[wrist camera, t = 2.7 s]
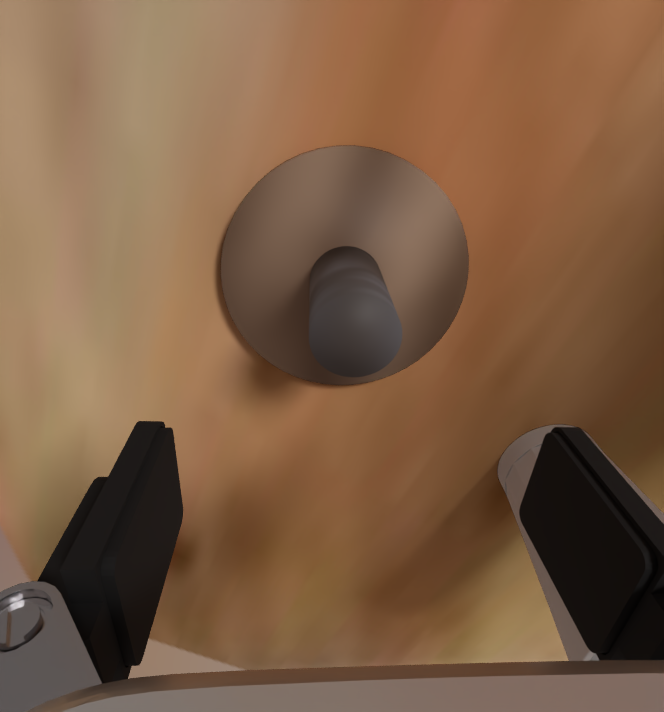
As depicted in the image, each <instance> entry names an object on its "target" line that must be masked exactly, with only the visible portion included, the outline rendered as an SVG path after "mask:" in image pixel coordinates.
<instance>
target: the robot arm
mask: <svg viewBox="0 0 664 712" xmlns="http://www.w3.org/2000/svg"><path fill="white" fill-rule="evenodd" d="M519 516H520V520H521V523H522V525H523V527H524V528H525V530H526V532H527V534H528V536H529V538H530V540H531V542H532V544H533V546H534V547H535V549H536V551H537V553H538V555H539V557H540V559H541V561H542V563H543V565H544V566H545V568H546V570H547V572H548V574H549V576H550V578H551V580H552V582H553V584H554V585H555V587H556V589H557V591H558V593H559V595H560V597H561V599H562V601H563V603H564V604H565V606H566V608H567V610H568V612H569V614H570V616H571V618H572V620H573V622H574V623H575V625H576V627H577V629H578V631H579V633H580V635H581V637H582V639H583V641H584V642H585V644H586V646H587V648H588V649H589V650H590V651H591V652H593V653H596V655H597V657H598V658H599V660H596V661H550V662H505V663H468V664H431V665H396V666H362V667H332V668H302V669H273V670H245V671H227V672H207V673H187V674H170V675H161V676H150V677H140V678H130V679H128V676H129V673H130V669H131V666H136V665H139V664H140V663H141V661H142V658H143V655H144V652H145V648H146V645H147V641H148V638H149V634H150V631H151V627H152V624H153V620H154V617H155V614H156V610H157V607H158V603H159V600H160V596H161V593H162V589H163V586H164V582H165V579H166V575H167V572H168V569H169V565H170V562H171V558H172V555H173V551H174V548H175V544H176V541H177V537H178V534H179V530H180V527H181V523H182V518H183V504H182V497H181V489H180V481H179V474H178V466H177V458H176V451H175V443H174V435H173V430H172V428H165V424H164V422H160V421H139V422H137V423H136V425H135V427H134V429H133V430H132V432H131V434H130V436H129V438H128V440H127V442H126V444H125V446H124V448H123V450H122V452H121V453H120V455H119V457H118V459H117V461H116V463H115V465H114V467H113V469H112V471H111V473H110V475H109V476H108V477H98V478H96V479H95V480H94V481H93V483H92V484H91V486H90V487H89V489H88V491H87V493H86V495H85V496H84V498H83V500H82V502H81V503H80V505H79V507H78V509H77V511H76V512H75V514H74V516H73V518H72V520H71V521H70V523H69V525H68V527H67V529H66V530H65V532H64V534H63V536H62V538H61V539H60V541H59V543H58V545H57V547H56V548H55V550H54V552H53V554H52V556H51V557H50V559H49V561H48V563H47V565H46V566H45V568H44V570H43V572H42V574H41V575H40V577H39V579H38V581H31V582H26V583H21V584H17V585H15V586H13V587H10V588H8V589H6V590H3V591H2V592H0V712H664V524H663V523H662V522H661V520H660V519H659V518H658V517H657V516H656V515H655V514H654V512H653V511H652V510H651V509H650V508H649V507H648V505H647V504H646V503H645V502H644V501H643V500H642V498H641V497H640V496H639V495H638V494H637V493H636V492H635V490H634V489H633V488H632V487H631V486H630V485H629V483H628V482H627V481H626V480H625V479H624V478H623V476H622V475H621V474H620V473H619V472H618V471H617V470H616V468H615V467H614V466H613V465H612V464H611V463H610V461H609V460H608V459H607V458H606V457H605V456H604V454H603V453H602V452H601V451H600V450H599V449H598V448H597V446H596V445H595V444H594V443H593V442H592V441H591V439H590V438H589V437H588V436H587V435H586V434H585V432H584V431H583V430H582V429H580V428H578V427H555V428H553V429H552V430H551V432H550V433H547V434H546V435H545V437H544V439H543V442H542V445H541V448H540V451H539V454H538V457H537V459H536V462H535V465H534V468H533V471H532V474H531V477H530V479H529V482H528V485H527V488H526V491H525V494H524V497H523V499H522V502H521V505H520V509H519Z"/></svg>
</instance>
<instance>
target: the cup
mask: <svg viewBox="0 0 664 712" xmlns="http://www.w3.org/2000/svg"><path fill="white" fill-rule="evenodd" d="M555 427H575V426H571V425H562V424H558V425H548V426H544V427H540V428H537V429H534V430H532V431H529V432H527V433H525V434H524V435H522V436H520V437H519V438H518V439H516V440H515V441H514V442H513V443H512V444H511V445H510V446H509V447H508V448H507V449H506V450H505V452H504V453H503V455H502V456H501V458H500V461H499V464H498V478H499V481H500V483H501V485H502V487H503V489H504V491H505V493H506V495H507V498H508V500H509V503H510V505H511V508H512V511H513V513H514V516H515V519H516V521H517V524H518V526H519V529H520V532H521V534H522V537H523V539H524V542H525V545H526V547H527V550H528V553H529V555H530V558H531V560H532V563H533V566H534V568H535V571H536V574H537V576H538V579H539V581H540V584H541V587H542V589H543V592H544V594H545V597H546V600H547V602H548V605H549V608H550V610H551V613H552V616H553V619H554V621H555V624H556V627H557V629H558V632H559V635H560V638H561V640H562V643H563V646H564V649H565V651H566V654H567V657H568V660H569V661H596V660H599V658H598V657H597V655H596V653H593V652H591V651H590V650H589V649H588V648H587V646H586V644H585V642H584V641H583V639H582V637H581V635H580V633H579V631H578V629H577V627H576V625H575V623H574V622H573V620H572V618H571V616H570V614H569V612H568V610H567V608H566V606H565V604H564V603H563V601H562V599H561V597H560V595H559V593H558V591H557V589H556V587H555V585H554V584H553V582H552V580H551V578H550V576H549V574H548V572H547V570H546V568H545V566H544V565H543V563H542V561H541V559H540V557H539V555H538V553H537V551H536V549H535V547H534V546H533V544H532V542H531V540H530V538H529V536H528V534H527V532H526V530H525V528H524V527H523V525H522V523H521V520H520V516H519V509H520V505H521V502H522V499H523V497H524V494H525V491H526V488H527V485H528V482H529V479H530V477H531V474H532V471H533V468H534V465H535V462H536V459H537V457H538V454H539V451H540V448H541V445H542V442H543V439H544V437H545V435H546V434H547V433H550V432H551V430H552V429H553V428H555ZM583 431H584V430H583ZM584 432H585V431H584ZM585 434H586V435H587V436H588V437H589V438H590V439H591V441H592V442H593V443H594V444H595V445H596V446H597V448H598V449H599V450H600V451H601V452H602V453H603V454H604V456H605V457H606V458H607V459H608V460H609V461H610V463H611V464H612V465H613V466H614V467H615V468H616V470H617V471H618V472H619V473H620V474H621V475H622V476H623V478H624V479H625V480H626V481H627V482H628V483H629V485H630V486H631V487H632V488H633V489H634V490H635V492H636V493H637V494H638V495H639V496H640V497H641V498H642V500H643V501H644V502H645V503H646V504H647V505H648V507H649V508H650V509H651V510H652V511H653V512H654V514H655V515H656V516H657V517H658V518H659V519H660V520H661V522H662V523H663V524H664V514H663V513H662V512H661V510H660V509H659V508H658V507H657V506H656V505H655V504H654V503H653V502H652V501H651V500H650V499H649V498H648V497H647V496H646V495H645V494H644V493H643V492H642V491H641V490H640V489H639V488H638V487H637V486H636V485H635V484H634V483H633V482H632V481H631V480H630V479H629V478H628V477H627V476H626V475H625V474H624V473H623V472H622V471H621V470H620V469H619V468H618V467H617V466H616V465H615V463H614V462H613V461H612V460H611V459H610V458H609V457H608V456H607V455H606V454H605V453H604V452H603V451H602V450H601V448H600V447H599V446H598V445H597V444H596V442H595V441H594V440H593V439H592V437H591V436H590V435H589V434H588V433H587V432H585Z"/></svg>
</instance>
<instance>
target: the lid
mask: <svg viewBox="0 0 664 712" xmlns="http://www.w3.org/2000/svg"><path fill="white" fill-rule="evenodd" d="M468 266H469V255H468V248H467V240H466V236H465V233H464V229H463V226H462V223H461V221H460V218H459V216H458V214H457V212H456V209H455V208H454V206H453V205H452V203H451V201H450V200H449V198H448V197H447V195H446V194H445V193H444V192H443V191H442V189H441V188H440V187H439V186H438V185H437V183H436V182H434V181H433V180H432V179H431V178H430V177H429V176H428V175H426V174H425V173H424V172H423V171H422V170H420V169H419V168H417V167H415V166H414V165H412V164H411V163H409V162H408V161H406V160H404V159H402V158H400V157H398V156H396V155H393V154H391V153H389V152H385V151H382V150H378V149H375V148H370V147H363V146H355V145H345V146H331V147H324V148H318V149H315V150H312V151H309V152H305V153H302V154H300V155H298V156H295V157H293V158H291V159H289V160H287V161H285V162H284V163H282V164H280V165H279V166H277V167H276V168H274V169H273V170H271V171H270V172H269V173H268V174H267V175H265V176H264V177H263V178H262V179H261V180H260V181H259V182H258V183H257V184H256V185H255V186H254V187H253V188H252V189H251V191H250V192H249V193H248V194H247V195H246V197H245V198H244V200H243V201H242V203H241V205H240V206H239V208H238V209H237V211H236V212H235V214H234V217H233V219H232V221H231V223H230V225H229V227H228V230H227V234H226V237H225V240H224V244H223V250H222V257H221V281H222V289H223V294H224V298H225V301H226V305H227V308H228V310H229V312H230V315H231V317H232V320H233V321H234V323H235V325H236V327H237V328H238V330H239V332H240V333H241V335H242V336H243V337H244V338H245V340H246V341H247V342H248V344H249V345H250V346H251V347H252V348H253V349H254V350H255V351H256V352H257V353H258V354H259V355H260V356H262V357H263V358H264V359H266V360H267V361H268V362H269V363H271V364H272V365H274V366H276V367H277V368H279V369H281V370H282V371H284V372H287V373H289V374H291V375H293V376H295V377H298V378H301V379H304V380H308V381H312V382H316V383H321V384H331V385H353V384H361V383H367V382H371V381H375V380H379V379H382V378H385V377H387V376H390V375H393V374H395V373H397V372H399V371H401V370H403V369H405V368H407V367H408V366H410V365H411V364H413V363H414V362H416V361H417V360H419V359H420V358H421V357H423V356H424V355H425V354H426V353H427V352H429V351H430V350H431V349H432V348H433V347H434V346H435V345H436V343H437V342H438V341H439V340H440V339H441V338H442V336H443V335H444V334H445V332H446V331H447V330H448V329H449V327H450V325H451V323H452V322H453V320H454V318H455V317H456V315H457V312H458V310H459V308H460V305H461V303H462V300H463V297H464V293H465V289H466V285H467V278H468Z"/></svg>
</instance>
